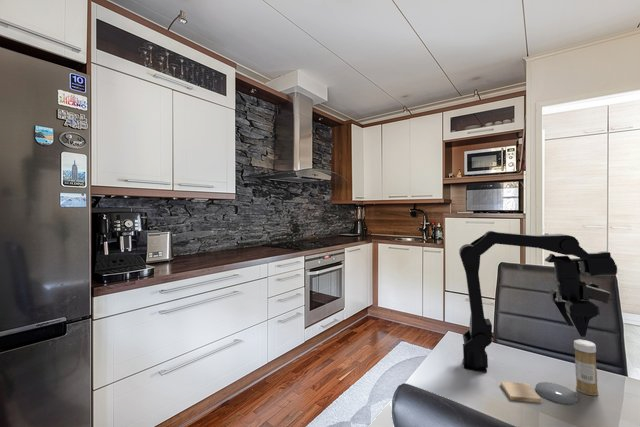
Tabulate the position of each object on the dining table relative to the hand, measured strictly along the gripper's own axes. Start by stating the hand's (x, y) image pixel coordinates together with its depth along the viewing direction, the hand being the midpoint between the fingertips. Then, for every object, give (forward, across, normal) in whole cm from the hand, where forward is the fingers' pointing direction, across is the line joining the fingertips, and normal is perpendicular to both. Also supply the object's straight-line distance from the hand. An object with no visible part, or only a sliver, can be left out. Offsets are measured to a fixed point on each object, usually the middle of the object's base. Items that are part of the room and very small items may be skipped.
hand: (576, 330), depth 84 cm
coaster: (+14, -8, +9) cm, 19 cm away
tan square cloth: (+14, -12, +18) cm, 25 cm away
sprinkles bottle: (+15, -4, +1) cm, 16 cm away
